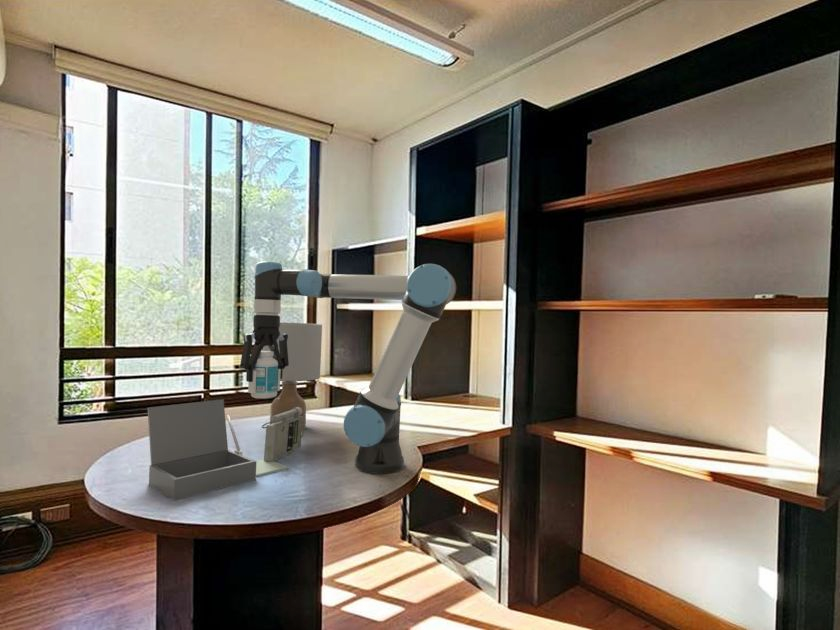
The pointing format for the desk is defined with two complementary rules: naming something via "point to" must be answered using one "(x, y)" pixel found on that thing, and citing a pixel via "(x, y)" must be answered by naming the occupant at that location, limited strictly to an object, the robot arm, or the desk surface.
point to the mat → (268, 467)
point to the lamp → (298, 365)
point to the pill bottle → (266, 376)
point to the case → (194, 450)
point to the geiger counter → (283, 434)
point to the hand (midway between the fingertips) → (264, 391)
